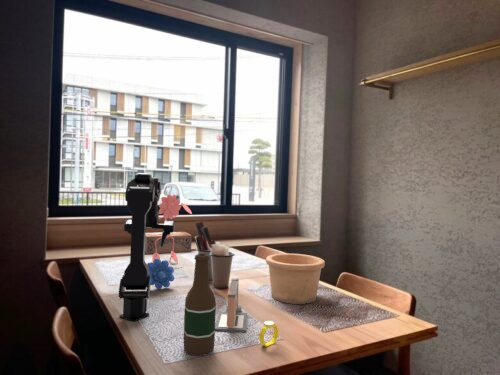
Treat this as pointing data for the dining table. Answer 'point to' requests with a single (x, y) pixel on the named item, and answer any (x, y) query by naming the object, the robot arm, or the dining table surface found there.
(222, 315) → the label board
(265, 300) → the dining table surface
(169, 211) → the pink tall branching piece
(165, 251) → the tissue box cover
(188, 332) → the beer bottle
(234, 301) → the tan grey flat panel
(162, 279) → the grapes
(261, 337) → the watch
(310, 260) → the pottery
